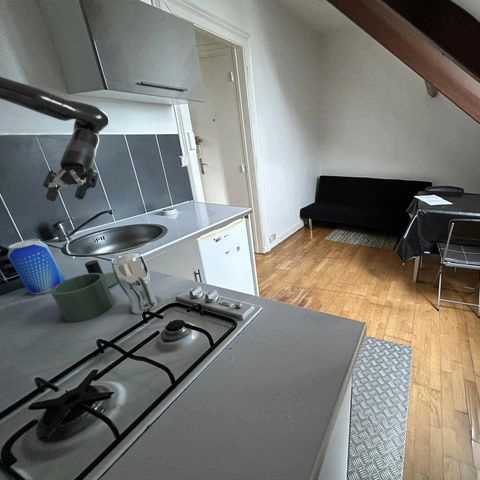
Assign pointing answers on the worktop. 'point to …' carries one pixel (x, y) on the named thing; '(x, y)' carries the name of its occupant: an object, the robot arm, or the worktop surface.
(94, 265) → the tin lid
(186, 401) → the worktop surface
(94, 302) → the tin
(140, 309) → the beer glass
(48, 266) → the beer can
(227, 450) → the worktop surface
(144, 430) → the worktop surface
